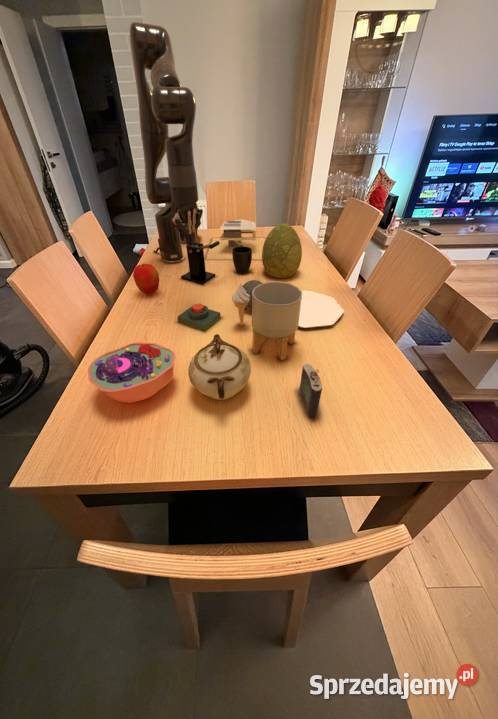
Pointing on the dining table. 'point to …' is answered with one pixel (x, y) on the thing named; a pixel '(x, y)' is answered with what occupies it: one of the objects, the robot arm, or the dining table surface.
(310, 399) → the flask
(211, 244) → the lever
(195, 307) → the button
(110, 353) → the cell model
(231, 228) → the house model
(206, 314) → the button housing
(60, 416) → the dining table surface
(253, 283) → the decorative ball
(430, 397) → the dining table surface
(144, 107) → the robot arm
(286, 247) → the decorative sculpture
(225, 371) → the sugar bowl
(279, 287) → the planter
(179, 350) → the dining table surface
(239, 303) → the ice cream cone
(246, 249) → the mug
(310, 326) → the plate
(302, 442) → the dining table surface
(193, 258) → the bracket
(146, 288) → the red mango
